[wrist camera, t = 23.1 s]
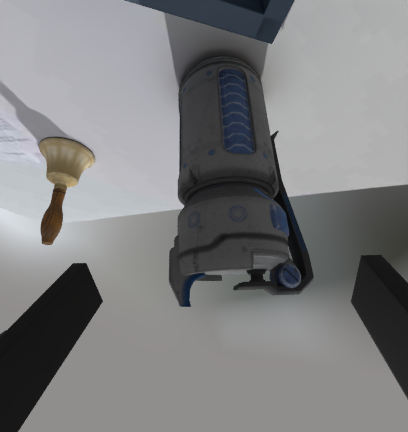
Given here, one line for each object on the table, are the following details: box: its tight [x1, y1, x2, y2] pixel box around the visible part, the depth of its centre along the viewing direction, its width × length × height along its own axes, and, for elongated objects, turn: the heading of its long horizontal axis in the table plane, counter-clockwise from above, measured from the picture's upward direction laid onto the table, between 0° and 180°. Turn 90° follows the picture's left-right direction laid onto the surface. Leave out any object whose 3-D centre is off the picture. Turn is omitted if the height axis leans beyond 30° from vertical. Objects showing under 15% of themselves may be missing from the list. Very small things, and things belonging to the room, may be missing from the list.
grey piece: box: [169, 56, 314, 307], centre depth 24 cm, size 10×13×25 cm
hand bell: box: [39, 138, 95, 245], centre depth 36 cm, size 8×8×16 cm
